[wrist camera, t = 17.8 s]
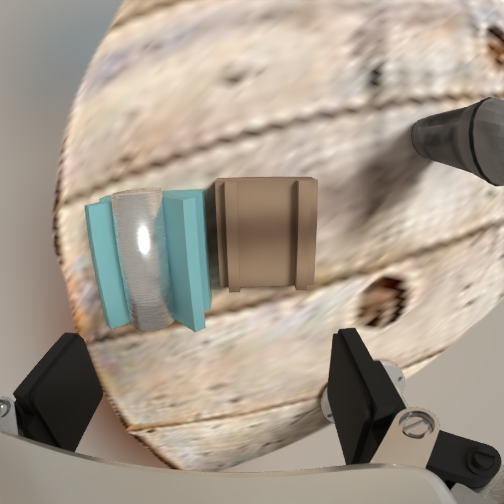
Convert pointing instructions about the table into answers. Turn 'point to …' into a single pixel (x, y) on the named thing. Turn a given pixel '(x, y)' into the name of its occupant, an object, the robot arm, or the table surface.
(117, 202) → the axle
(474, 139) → the beverage cup
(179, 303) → the v block
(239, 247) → the tan stepped block
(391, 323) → the table surface
